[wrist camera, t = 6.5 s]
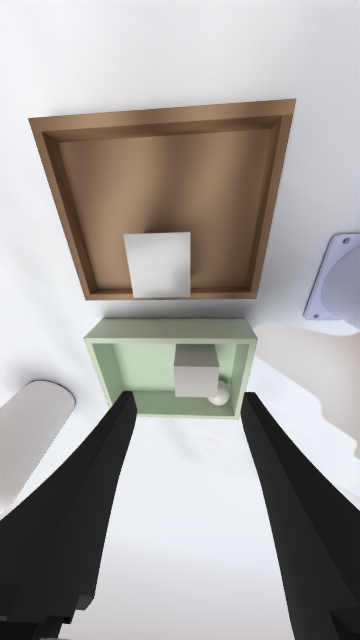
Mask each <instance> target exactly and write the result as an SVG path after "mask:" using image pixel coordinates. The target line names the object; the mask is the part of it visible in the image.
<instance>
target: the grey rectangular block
mask: <svg viewBox="0 0 360 640" xmlns="http://www.w3.org/2000/svg"><path fill="white" fill-rule="evenodd" d="M219 368H220V366H219V362H218V358H217V353H216V349H215V344H176V350H175V358H174V382H175V397H214V398H216V394H217V385H218V377H219Z"/></svg>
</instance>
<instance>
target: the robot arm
mask: <svg viewBox="0 0 360 640" xmlns="http://www.w3.org/2000/svg"><path fill="white" fill-rule="evenodd" d="M345 238H346V241H345V242H344V243H343V240H344V239H345ZM315 314H316V315H315ZM314 315H315V316H314ZM304 318H306V319H307V320H344V321H346V322H347V323H349V324H351V325H353V326H354V327H356V328H358V329H360V234H338V235H336V236H334V237H333V238H332V240H331V242H330V244H329V247H328V250H327V253H326V255H325V258H324V261H323V264H322V266H321V269H320V272H319V275H318V277H317V280H316V283H315V286H314V288H313V291H312V294H311V297H310V299H309V302H308V305H307V308H306V310H305V313H304ZM137 411H138V410H137V406H136V403H135V399H134V395H133V391H123V392H122V393H121V394H120V396H119V397H118V399H117V400H116V401H115V403H114V404H113V405H112V407H111V408H110V409H109V411H108V412H107V413H106V414H105V416H104V417H103V418H102V420H101V421H100V422H99V423H98V425H97V426H96V427H95V428H94V429H93V431H92V432H91V433H90V434H89V435H88V436H87V438H86V439H85V440H84V441H83V442H82V443H81V445H80V446H79V447H78V448H77V449H76V450H75V451H74V452H73V453H72V454H71V455H70V456H69V458H67V460H66V461H65V462H64V463H63V464H62V465H61V466H60V467H59V468H58V469H57V470H56V471H55V472H54V473H53V474H52V475H51V476H50V477H48V478H47V479H46V480H45V481H44V482H43V483H42V484H41V485H40V486H39V487H38V488H37V489H36V490H35V491H33V493H31V494H30V495H29V496H28V497H27V498H26V499H25V500H24V501H22V502H21V503H20V504H19V505H18V506H17V507H16V508H15V509H14V510H12V511H11V512H10V513H9V514H8V515H6V516H5V517H4V518H3V519H2V520H1V521H0V640H67V639H59V638H58V635H59V632H60V629H61V626H62V623H64V624H71V622H72V618H73V615H74V612H75V610H85V609H86V608H87V607H88V606H89V605H90V603H91V602H92V600H93V599H94V596H95V590H96V584H97V579H98V574H99V568H100V563H101V557H102V552H103V547H104V542H105V537H106V533H107V528H108V523H109V518H110V514H111V509H112V504H113V500H114V496H115V491H116V487H117V483H118V479H119V475H120V472H121V468H122V465H123V462H124V459H125V456H126V452H127V449H128V446H129V443H130V440H131V436H132V433H133V430H134V426H135V421H136V416H137ZM240 414H241V419H242V424H243V428H244V432H245V435H246V438H247V442H248V445H249V448H250V451H251V454H252V457H253V460H254V464H255V467H256V470H257V473H258V476H259V480H260V483H261V486H262V491H263V495H264V499H265V503H266V507H267V512H268V516H269V520H270V525H271V529H272V533H273V538H274V543H275V548H276V552H277V557H278V562H279V566H280V571H281V576H282V581H283V586H284V591H285V596H286V601H287V606H288V611H289V617H290V622H291V626H292V630H293V634H294V637H295V640H360V511H359V510H358V509H357V508H356V507H355V506H354V505H353V504H352V503H351V502H350V501H349V500H348V499H346V497H345V496H344V495H343V494H342V493H340V492H339V491H338V490H337V489H336V488H335V487H334V486H333V485H332V484H331V483H330V482H329V481H328V480H327V479H326V478H325V477H324V476H323V475H322V473H321V472H320V471H319V470H318V469H317V468H316V467H315V466H314V465H313V464H312V463H311V462H310V461H309V460H308V459H307V457H306V456H305V455H304V454H303V453H302V452H301V451H300V450H299V448H298V447H297V446H296V445H295V444H294V443H293V441H292V440H291V439H290V438H289V437H288V436H287V434H286V433H285V432H284V431H283V429H282V428H281V427H280V426H279V424H278V423H277V422H276V421H275V419H274V418H273V417H272V415H271V414H270V413H269V411H268V410H267V409H266V407H265V406H264V405H263V403H262V402H261V400H260V399H259V398H258V396H257V395H256V393H255V392H244V396H243V401H242V406H241V411H240Z"/></svg>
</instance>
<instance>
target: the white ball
mask: <svg viewBox="0 0 360 640" xmlns="http://www.w3.org/2000/svg"><path fill="white" fill-rule="evenodd" d="M229 397H230V390H229V388H228V386H227V384H226V383H225V382H223V381H221V380H218V385H217V394H216V398H214V397H207V398H208V400H209V401H210V402H211V403H212V404H214V405H218V406H219V405H223V404H225V403H226V402H227V401H228V400H229Z"/></svg>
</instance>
